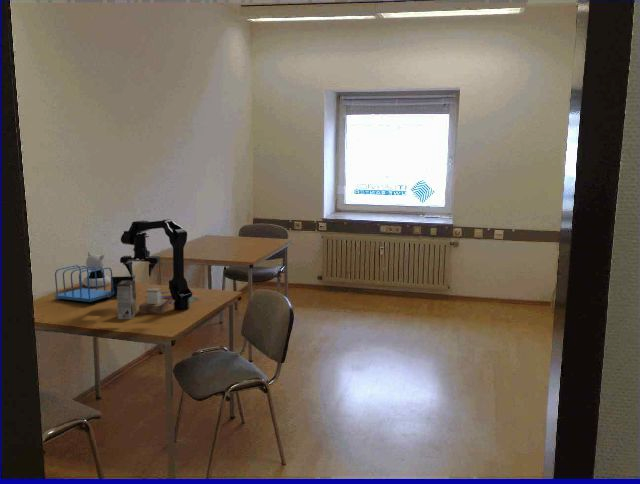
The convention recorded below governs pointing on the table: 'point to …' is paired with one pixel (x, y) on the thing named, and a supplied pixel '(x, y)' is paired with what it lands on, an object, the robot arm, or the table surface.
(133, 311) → the coffee box
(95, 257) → the decorative figurine
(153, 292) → the cream capped cube
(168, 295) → the relief map
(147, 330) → the table surface
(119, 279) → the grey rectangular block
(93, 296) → the file sorter
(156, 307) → the walnut block
